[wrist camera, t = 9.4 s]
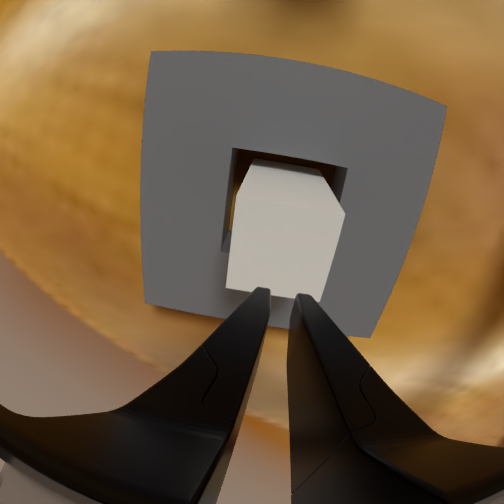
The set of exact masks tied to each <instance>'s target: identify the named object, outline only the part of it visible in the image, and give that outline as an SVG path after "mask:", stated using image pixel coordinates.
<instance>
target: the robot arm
mask: <svg viewBox="0 0 504 504" xmlns="http://www.w3.org/2000/svg"><path fill="white" fill-rule="evenodd" d="M270 310H271V290H270V289H269V288H263V287H256V288H255V289H254V290H253V291H252V292H251V293H250V295H249V296H248V297H247V298H246V299H245V300H244V301H243V302H242V303H241V304H240V305H239V306H238V307H237V308H236V309H235V310H234V311H233V312H232V313H231V314H230V316H229V317H228V318H227V319H226V320H225V321H224V322H223V323H222V324H221V325H220V326H219V327H218V328H217V329H216V330H215V331H214V332H213V333H212V334H211V335H210V336H209V337H208V338H207V339H206V340H205V341H204V342H203V343H202V345H201V346H199V347H198V348H197V349H196V350H195V351H194V352H193V353H192V354H191V355H190V356H189V357H188V358H187V359H186V360H185V361H184V362H183V363H182V364H181V365H179V366H178V367H177V368H176V369H174V370H173V371H172V372H171V373H169V374H168V375H167V376H165V377H164V378H163V379H162V380H160V381H159V382H157V383H156V384H155V385H153V386H152V387H150V388H149V389H148V390H146V391H145V392H143V393H142V394H141V395H139V396H138V397H136V398H135V399H134V400H132V401H131V402H129V403H128V404H126V405H124V406H122V407H120V408H118V409H115V410H112V411H109V412H101V413H92V414H83V415H71V416H59V417H29V416H23V415H20V414H17V413H14V412H12V411H10V410H8V409H7V408H5V407H4V406H2V405H1V404H0V458H1V459H2V460H4V461H5V464H4V466H3V468H2V470H1V473H0V504H216V502H217V498H218V496H219V493H220V490H221V486H222V484H223V481H224V478H225V474H226V471H227V468H228V465H229V462H230V459H231V456H232V452H233V449H234V446H235V443H236V440H237V436H238V433H239V430H240V426H241V423H242V420H243V416H244V413H245V410H246V406H247V403H248V399H249V396H250V393H251V389H252V386H253V382H254V379H255V375H256V371H257V368H258V364H259V360H260V356H261V351H262V347H263V343H264V339H265V334H266V330H267V326H268V321H269V317H270ZM369 366H370V364H369V363H368V362H367V361H366V359H365V358H364V357H363V356H362V355H361V354H360V352H359V351H358V350H357V349H356V348H355V346H354V345H353V344H352V343H351V342H350V340H349V339H348V338H347V337H346V336H345V335H344V333H343V332H342V331H341V330H340V329H339V327H338V326H337V325H336V324H335V323H334V322H333V320H332V319H331V318H330V317H329V316H328V314H327V313H326V312H325V311H324V310H323V309H322V307H321V306H320V305H319V304H318V303H317V302H316V300H315V299H314V298H313V297H312V296H311V295H309V294H303V293H298V294H297V295H296V297H295V301H294V304H293V308H292V312H291V316H290V323H289V336H288V349H287V386H288V407H289V432H290V460H291V461H290V462H291V493H292V495H291V504H504V447H496V446H488V445H481V444H475V443H469V442H463V441H458V440H452V439H449V438H446V437H443V436H441V435H439V434H438V433H436V432H435V431H433V430H432V429H431V428H430V427H429V426H428V425H427V424H426V423H425V422H424V421H423V420H422V419H421V418H420V417H419V416H418V415H417V414H416V413H415V412H413V411H412V410H411V409H410V408H409V407H408V406H407V405H406V404H405V403H404V402H403V401H402V400H401V399H400V398H399V397H398V396H397V395H396V394H395V393H394V392H393V390H392V389H391V388H390V387H389V386H388V385H387V384H386V383H385V382H384V381H383V379H382V378H381V377H380V376H379V375H378V374H377V373H376V371H375V370H374V369H373V368H372V367H371V366H370V367H369Z"/></svg>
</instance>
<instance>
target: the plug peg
mask: <svg viewBox="0 0 504 504" xmlns="http://www.w3.org/2000/svg"><path fill="white" fill-rule="evenodd" d="M344 218H345V213H344V211H343V209H342V207H341V206H340V204H339V202H338V201H337V199H336V197H335V195H334V194H333V192H332V190H331V189H330V187H329V185H328V184H327V182H326V181H325V179H324V177H323V176H322V174H321V172H320V171H319V169H314V168H309V167H303V166H298V165H292V164H287V163H281V162H275V161H268V160H262V159H255V158H254V159H253V162H252V164H251V166H250V168H249V170H248V172H247V174H246V176H245V178H244V180H243V183H242V185H241V187H240V189H239V191H238V193H237V195H236V203H235V211H234V219H233V228H232V236H231V245H230V254H229V262H228V271H227V281H226V288H230V289H236V290H242V291H248V292H252V291H253V290H254V289H255V288H256V287H263V288H269V289H270V290H271V295H273V296H280V297H287V298H293V299H295V297H296V295H297V294H298V293H303V294H309V295H311V296H312V297H313V298H314V299H315V300H316V302H320V300H321V296H322V293H323V290H324V287H325V284H326V281H327V277H328V274H329V271H330V267H331V264H332V261H333V257H334V254H335V250H336V247H337V243H338V240H339V236H340V232H341V229H342V225H343V221H344Z"/></svg>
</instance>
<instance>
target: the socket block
mask: <svg viewBox="0 0 504 504" xmlns="http://www.w3.org/2000/svg"><path fill="white" fill-rule="evenodd" d="M446 109H447V106H445V105H443V104H441V103H438V102H436V101H434V100H431V99H429V98H426V97H424V96H421V95H419V94H416V93H413V92H411V91H408V90H405V89H402V88H400V87H397V86H394V85H391V84H388V83H385V82H382V81H378V80H375V79H372V78H368V77H365V76H361V75H358V74H354V73H350V72H347V71H343V70H339V69H334V68H330V67H326V66H321V65H316V64H311V63H306V62H301V61H295V60H289V59H283V58H276V57H269V56H261V55H252V54H242V53H230V52H213V51H153V52H151V55H150V62H149V70H148V78H147V87H146V96H145V107H144V119H143V133H142V152H141V186H140V214H141V250H142V269H143V283H144V296H145V303H147V304H152V305H156V306H161V307H165V308H170V309H175V310H180V311H185V312H190V313H195V314H200V315H206V316H211V317H217V318H222V319H227V318H228V317H229V316H230V314H231V313H232V312H233V311H234V310H235V309H236V308H237V307H238V306H239V305H240V304H241V303H242V302H243V301H244V300H245V299H246V298H247V297H248V296H249V295H250V293H251V292H248V291H242V290H236V289H230V288H226V281H227V271H228V262H229V254H230V245H231V236H232V231H229V224H230V215H231V207H232V198H233V190H234V182H235V174H236V166H237V158H238V150H239V149H246V150H253V151H260V152H266V153H273V154H279V155H285V156H290V157H296V158H301V159H307V160H312V161H317V162H322V163H327V164H332V165H336V167H335V172H334V177H333V181H332V186H331V190H332V192H333V194H334V195H335V197H336V199H337V201H338V202H339V204H340V206H341V207H342V209H343V211H344V213H345V218H344V221H343V225H342V229H341V232H340V236H339V240H338V243H337V247H336V250H335V254H334V257H333V261H332V264H331V267H330V271H329V274H328V277H327V281H326V284H325V287H324V290H323V293H322V296H321V300H320V302H317V303H318V304H319V305H320V306H321V307H322V309H323V310H324V311H325V312H326V313H327V314H328V316H329V317H330V318H331V319H332V320H333V322H334V323H335V324H336V325H337V326H338V327H339V329H340V330H341V331H342V332H343V333H344V335H345V336H354V337H365V338H370V337H371V335H372V333H373V331H374V329H375V327H376V325H377V322H378V320H379V318H380V316H381V314H382V312H383V310H384V307H385V305H386V303H387V301H388V299H389V296H390V294H391V292H392V289H393V287H394V285H395V282H396V280H397V277H398V275H399V272H400V270H401V267H402V265H403V262H404V260H405V257H406V254H407V252H408V249H409V246H410V244H411V241H412V238H413V235H414V232H415V229H416V226H417V223H418V220H419V217H420V214H421V211H422V208H423V205H424V201H425V198H426V195H427V191H428V188H429V184H430V181H431V177H432V173H433V169H434V166H435V161H436V157H437V153H438V149H439V144H440V140H441V135H442V130H443V125H444V120H445V115H446ZM294 301H295V299H293V298H287V297H280V296H273V295H271V310H270V317H269V321H268V326H272V327H279V328H286V329H289V323H290V316H291V312H292V308H293V304H294Z"/></svg>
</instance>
